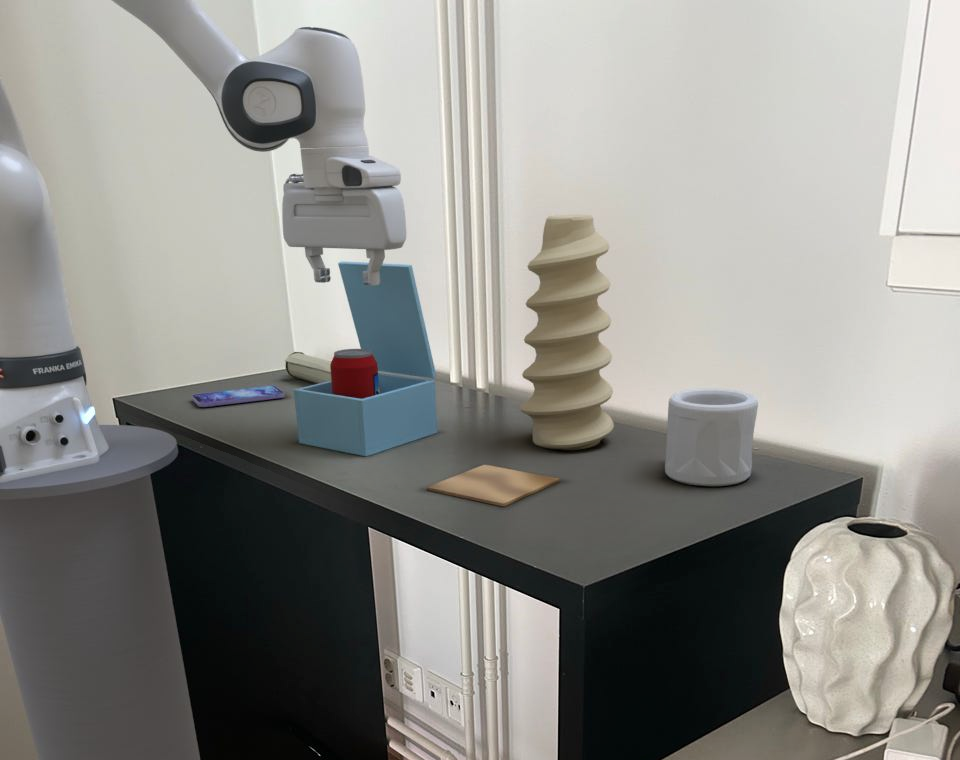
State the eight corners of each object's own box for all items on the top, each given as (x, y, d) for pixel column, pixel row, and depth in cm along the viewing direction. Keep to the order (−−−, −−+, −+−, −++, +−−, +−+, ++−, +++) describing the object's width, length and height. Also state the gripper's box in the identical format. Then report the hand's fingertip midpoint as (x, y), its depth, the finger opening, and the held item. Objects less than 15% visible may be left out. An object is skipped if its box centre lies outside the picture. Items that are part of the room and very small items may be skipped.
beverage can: (391, 434, 146) (386, 351, 141) (355, 443, 142) (348, 358, 137) (363, 427, 150) (357, 346, 145) (327, 436, 146) (319, 352, 141)
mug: (769, 478, 125) (777, 398, 120) (703, 493, 120) (709, 410, 116) (697, 454, 135) (702, 380, 131) (634, 467, 131) (637, 390, 126)
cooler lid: (408, 266, 136) (411, 264, 136) (337, 263, 143) (341, 261, 144) (433, 378, 146) (436, 376, 146) (366, 369, 153) (369, 367, 154)
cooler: (366, 456, 139) (361, 400, 135) (299, 443, 146) (293, 389, 143) (437, 432, 150) (435, 380, 146) (371, 421, 157) (368, 371, 154)
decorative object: (632, 443, 141) (642, 214, 128) (556, 458, 135) (558, 220, 122) (576, 425, 151) (579, 212, 138) (503, 438, 145) (499, 216, 132)
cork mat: (503, 506, 117) (503, 503, 117) (426, 490, 124) (426, 486, 124) (559, 481, 126) (559, 478, 125) (484, 467, 132) (484, 464, 132)
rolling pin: (385, 401, 170) (383, 371, 168) (356, 405, 167) (354, 375, 165) (303, 373, 194) (301, 347, 192) (277, 377, 191) (274, 350, 189)
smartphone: (285, 393, 173) (199, 403, 168) (286, 398, 174) (200, 408, 168) (274, 384, 179) (190, 394, 174) (274, 389, 180) (191, 399, 174)
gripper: (265, 174, 134) (278, 283, 140) (376, 171, 122) (385, 289, 128) (299, 173, 138) (311, 278, 144) (410, 169, 127) (417, 284, 133)
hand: (346, 283), depth 136 cm, fingers open, 8 cm apart
